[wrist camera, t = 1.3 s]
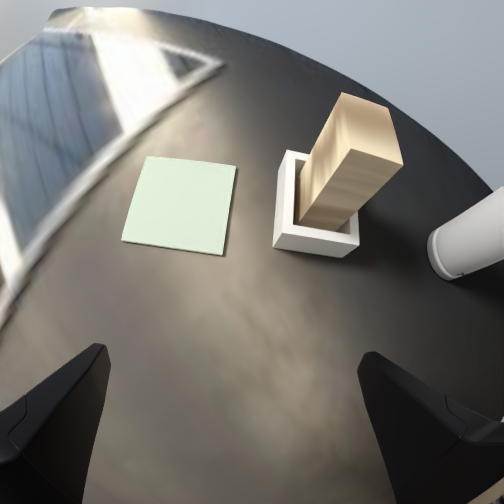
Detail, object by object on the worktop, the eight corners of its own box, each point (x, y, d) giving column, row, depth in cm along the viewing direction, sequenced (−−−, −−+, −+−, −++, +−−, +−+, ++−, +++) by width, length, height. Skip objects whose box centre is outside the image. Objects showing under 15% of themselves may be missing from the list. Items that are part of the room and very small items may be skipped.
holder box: (341, 257, 25) (359, 245, 22) (272, 247, 25) (282, 232, 21) (339, 184, 28) (353, 165, 25) (278, 171, 27) (286, 150, 24)
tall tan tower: (326, 239, 26) (403, 165, 14) (290, 234, 25) (350, 148, 14) (326, 193, 27) (388, 108, 15) (292, 187, 27) (341, 92, 15)
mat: (222, 255, 24) (222, 254, 23) (122, 241, 23) (121, 239, 23) (235, 168, 27) (235, 166, 26) (147, 157, 26) (147, 156, 25)
